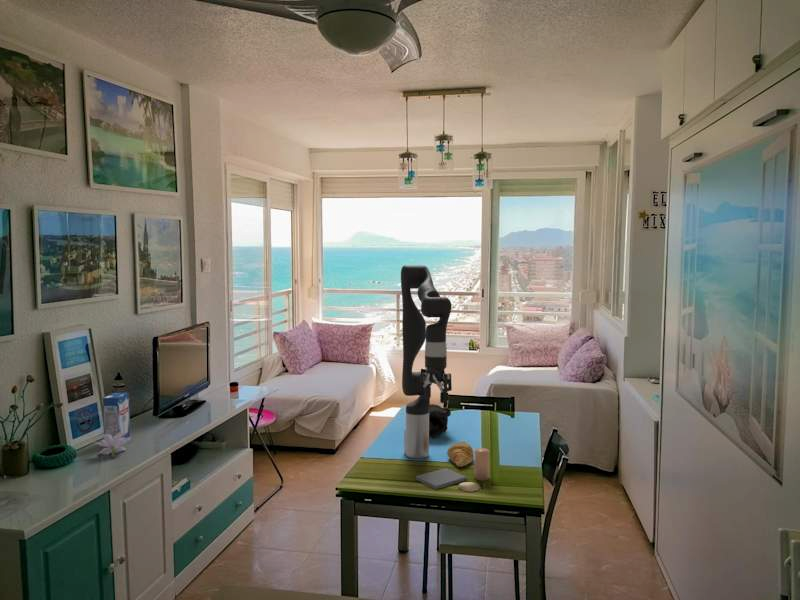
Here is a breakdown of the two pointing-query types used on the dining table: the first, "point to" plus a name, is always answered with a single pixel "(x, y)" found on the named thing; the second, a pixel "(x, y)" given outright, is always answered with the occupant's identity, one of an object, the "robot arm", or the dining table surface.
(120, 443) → the water lily
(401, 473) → the dining table surface
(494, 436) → the dining table surface
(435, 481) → the slate board
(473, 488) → the cork coaster
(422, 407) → the robot arm
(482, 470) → the pinkish tan rounded cylinder
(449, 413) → the puffin
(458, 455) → the croissant
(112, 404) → the milk carton
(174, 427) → the dining table surface
